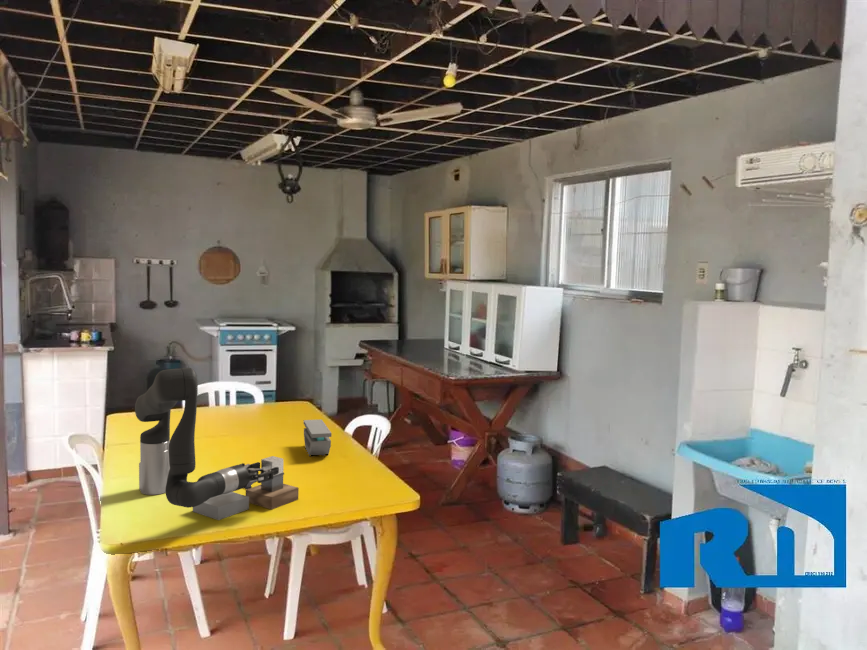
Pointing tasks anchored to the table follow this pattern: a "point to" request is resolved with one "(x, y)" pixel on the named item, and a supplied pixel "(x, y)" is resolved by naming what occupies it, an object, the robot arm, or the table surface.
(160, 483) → the robot arm
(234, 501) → the stand
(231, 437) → the table surface
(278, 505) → the stand
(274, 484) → the block
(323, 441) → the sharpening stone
